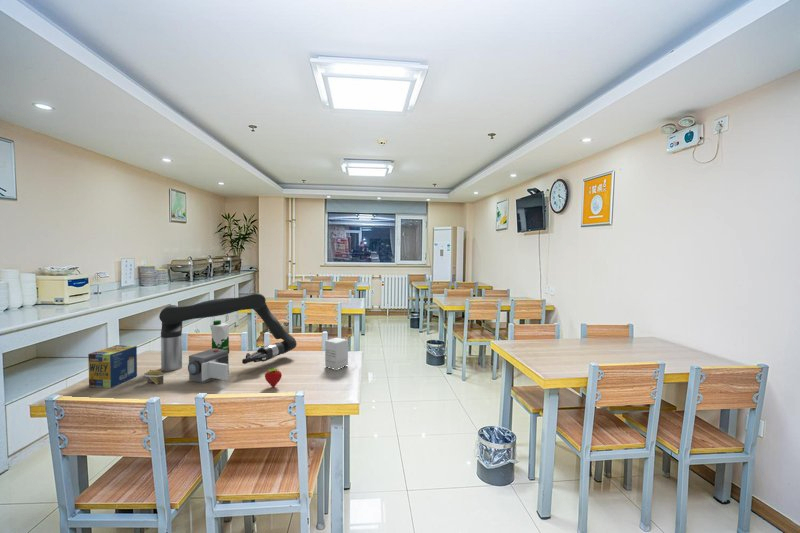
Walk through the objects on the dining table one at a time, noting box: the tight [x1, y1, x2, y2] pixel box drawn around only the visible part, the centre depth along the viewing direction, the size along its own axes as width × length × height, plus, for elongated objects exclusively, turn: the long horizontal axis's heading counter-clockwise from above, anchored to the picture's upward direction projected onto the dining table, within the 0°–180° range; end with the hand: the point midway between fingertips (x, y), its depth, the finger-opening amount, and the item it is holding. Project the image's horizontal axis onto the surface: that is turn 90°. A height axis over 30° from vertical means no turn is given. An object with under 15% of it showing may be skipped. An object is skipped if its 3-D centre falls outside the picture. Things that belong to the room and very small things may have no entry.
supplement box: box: [324, 337, 349, 369], centre depth 188 cm, size 9×9×15 cm
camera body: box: [187, 348, 230, 384], centre depth 170 cm, size 16×10×13 cm, turn 160°
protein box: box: [87, 344, 138, 389], centre depth 163 cm, size 10×15×16 cm
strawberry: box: [264, 367, 283, 388], centre depth 160 cm, size 6×8×10 cm
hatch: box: [202, 360, 229, 381], centre depth 162 cm, size 7×12×8 cm, turn 70°
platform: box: [143, 369, 167, 385], centre depth 162 cm, size 12×18×7 cm, turn 87°
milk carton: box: [209, 319, 231, 353], centre depth 210 cm, size 9×9×20 cm
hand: (243, 361), depth 173 cm, fingers closed
